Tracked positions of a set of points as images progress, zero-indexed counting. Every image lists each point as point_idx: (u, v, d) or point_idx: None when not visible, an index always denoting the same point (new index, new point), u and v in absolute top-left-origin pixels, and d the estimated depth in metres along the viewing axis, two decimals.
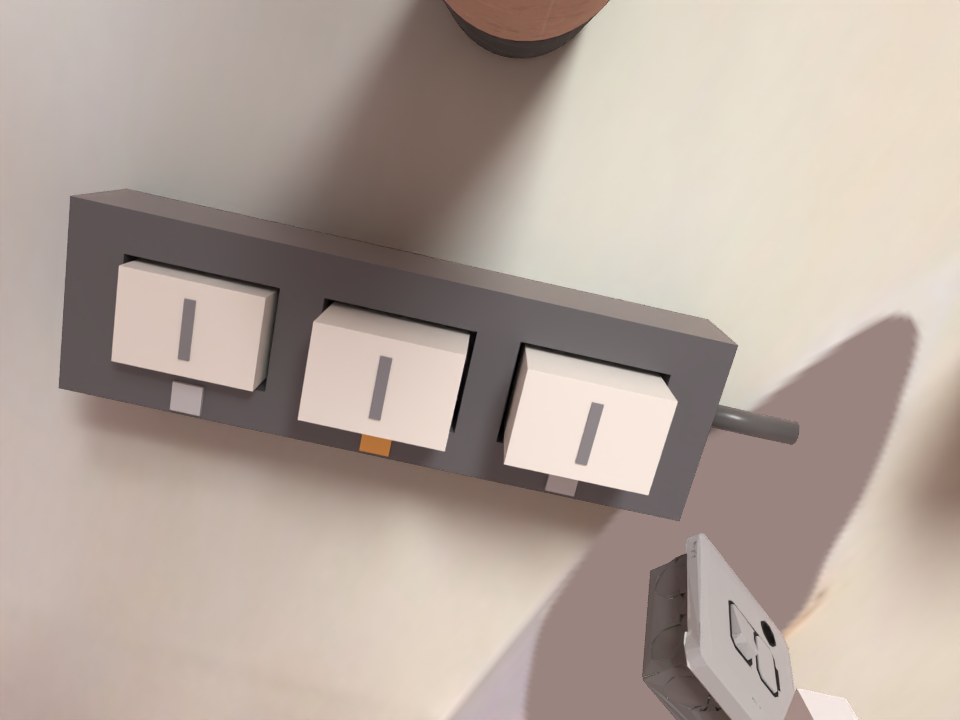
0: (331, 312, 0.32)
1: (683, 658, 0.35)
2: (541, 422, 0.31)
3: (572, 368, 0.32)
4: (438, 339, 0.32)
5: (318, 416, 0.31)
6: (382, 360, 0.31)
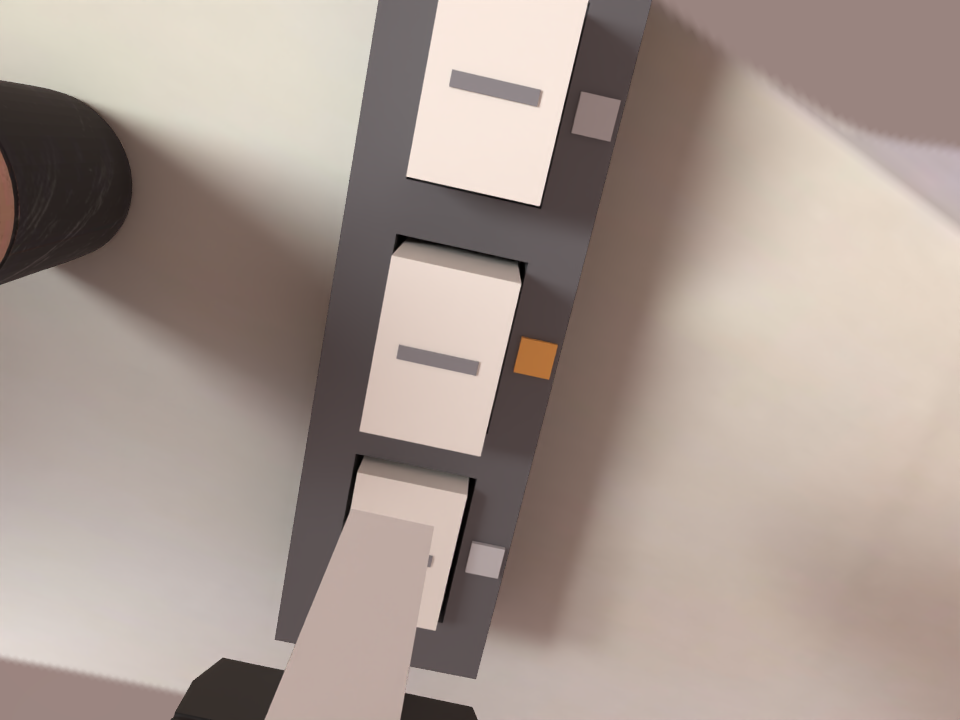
0: None
1: None
2: (480, 156, 0.24)
3: None
4: None
5: (475, 433, 0.26)
6: (403, 356, 0.26)
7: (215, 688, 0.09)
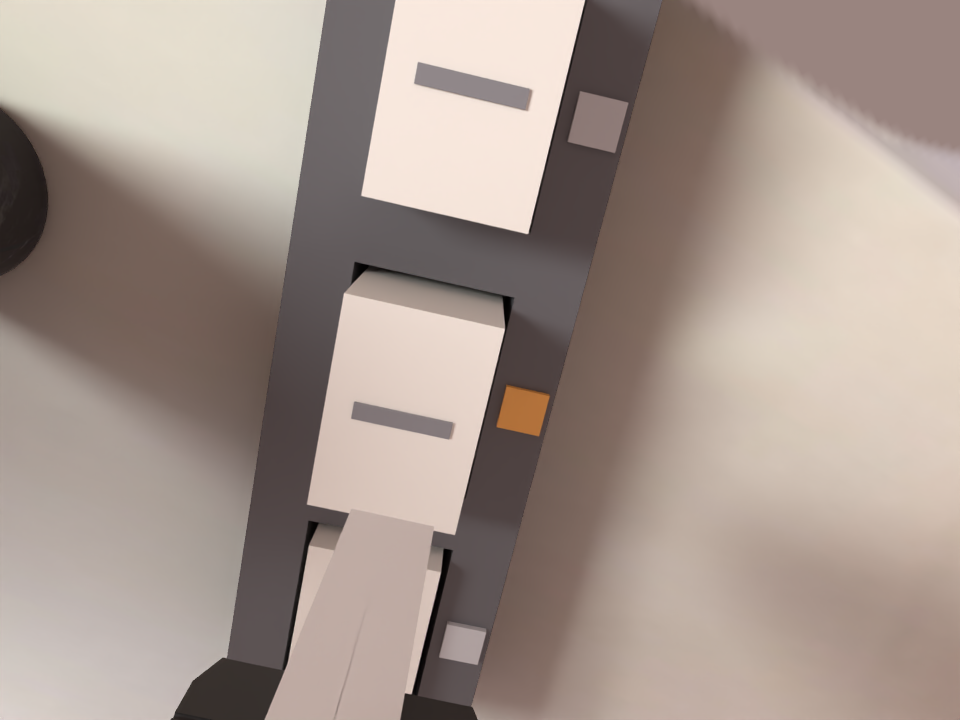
0: None
1: None
2: (453, 171, 0.19)
3: None
4: None
5: (449, 507, 0.22)
6: (359, 415, 0.21)
7: (215, 687, 0.09)
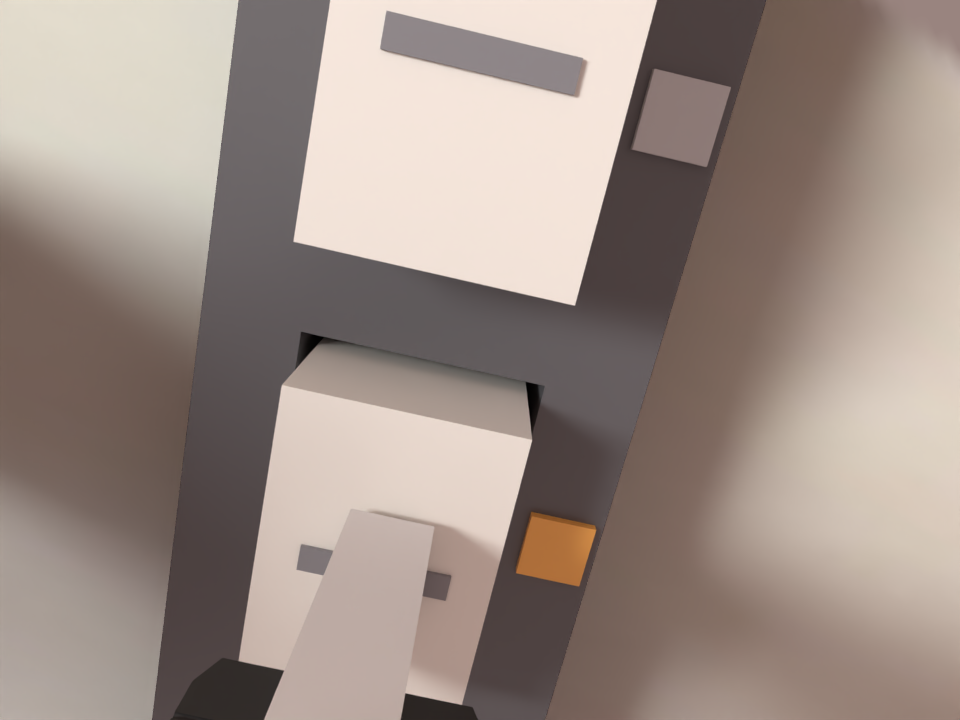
0: None
1: None
2: (449, 200, 0.11)
3: None
4: None
5: (445, 694, 0.14)
6: (310, 564, 0.14)
7: (214, 687, 0.09)
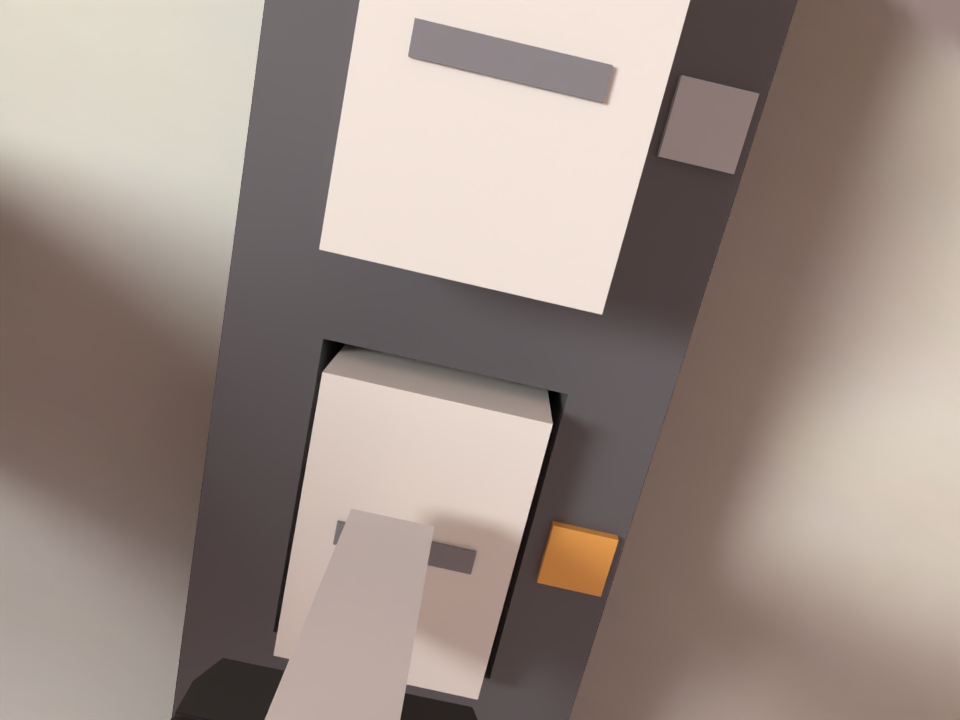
0: None
1: None
2: (475, 208, 0.11)
3: None
4: None
5: (470, 663, 0.15)
6: None
7: (214, 688, 0.09)
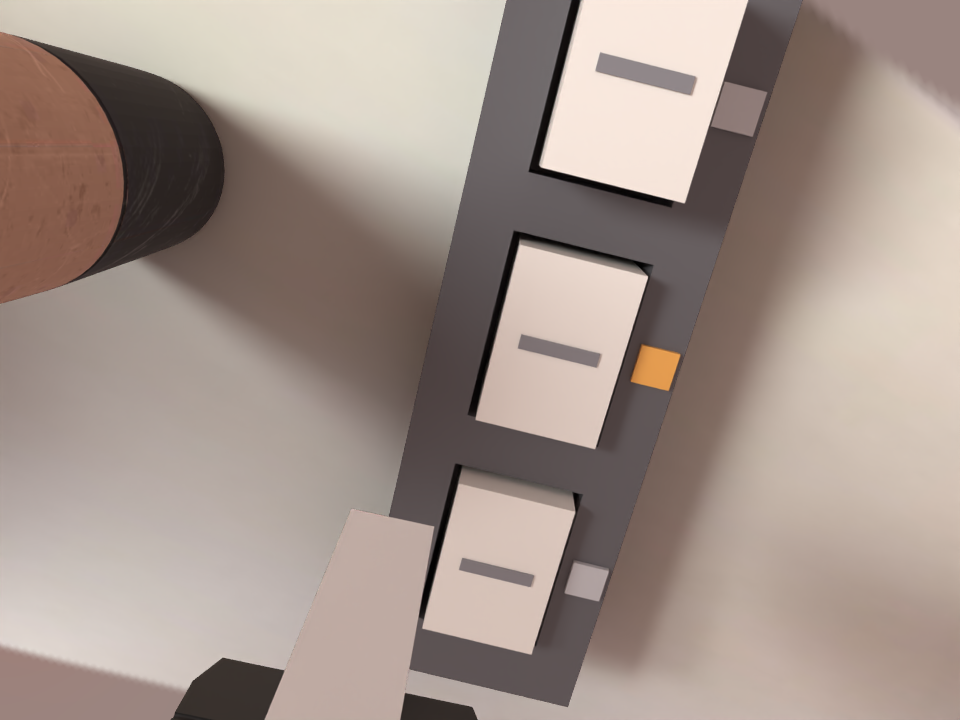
0: (480, 394, 0.28)
1: None
2: (623, 147, 0.22)
3: (557, 100, 0.23)
4: (510, 275, 0.26)
5: (592, 425, 0.26)
6: (524, 346, 0.26)
7: (215, 686, 0.09)
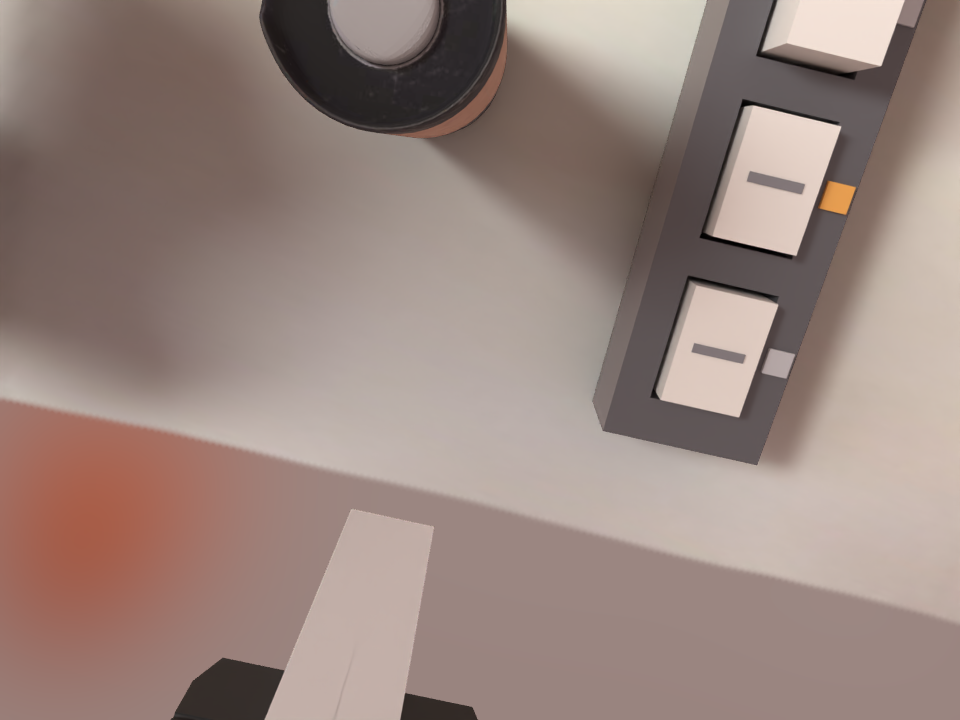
0: (704, 225, 0.39)
1: None
2: (842, 27, 0.33)
3: (789, 0, 0.34)
4: (735, 133, 0.37)
5: (795, 237, 0.37)
6: (751, 179, 0.37)
7: (215, 688, 0.09)
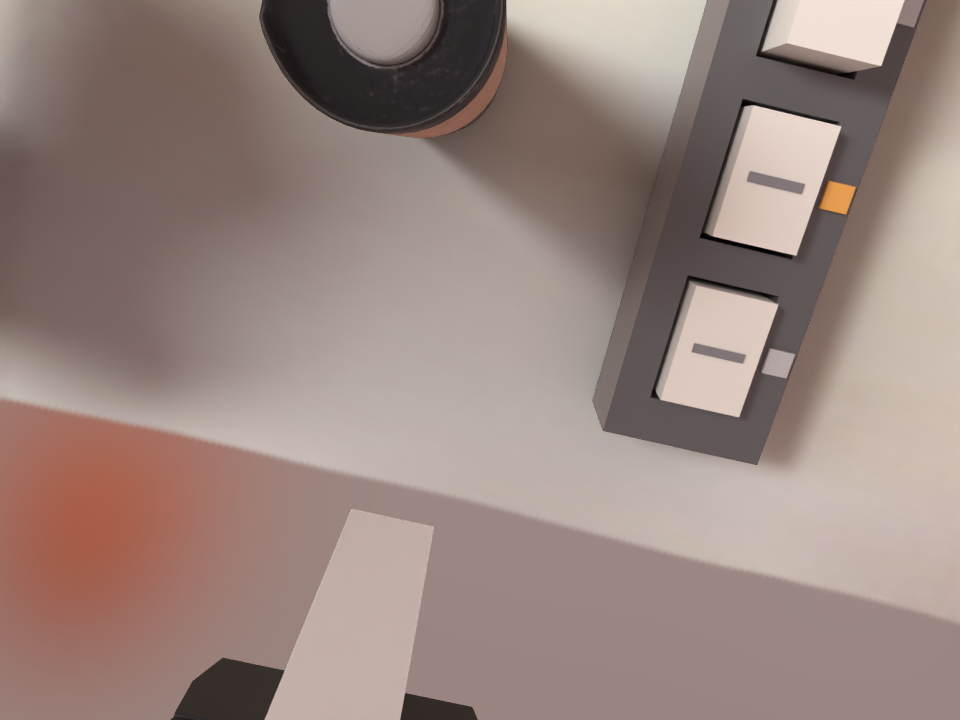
0: (704, 225, 0.39)
1: None
2: (842, 27, 0.33)
3: (789, 0, 0.34)
4: (735, 133, 0.37)
5: (795, 237, 0.37)
6: (751, 179, 0.37)
7: (214, 688, 0.09)
